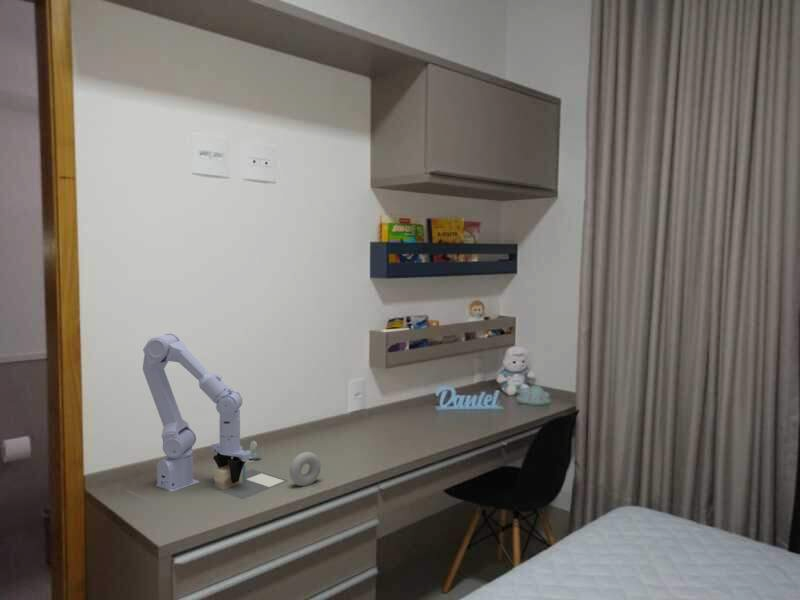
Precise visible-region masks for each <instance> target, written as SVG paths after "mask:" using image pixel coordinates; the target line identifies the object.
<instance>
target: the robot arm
mask: <svg viewBox="0 0 800 600" xmlns="http://www.w3.org/2000/svg"><path fill="white" fill-rule="evenodd" d="M142 351H143V354H144V355H143V363H142V372H143V374H144V377H145V380H146V382H147V385H148V389H149V390H150V394H151V396H152V399H153V402H154V405H155V406H156V409H157V412H158V415H159V417H160V421H161V424H162V427H163V429H162V432H161V439H162V451H163V453H164V454H165V455H166V456H165V457H164V458H162V459H161V460H159V461H158V462H157V466H156V470H157V471H156V475H157V476H156V479H157V483H156V485H155V486H156V487H159V488H161V489H163V490H166V491H169V492H174V491H178V490H180V489H183V488H186V487H188V486H192V485H195V484H197V483H200V480H197V479H194V449H193V446H194V445H195V443H196V441H197V436H196V433H195V431H194V430H193V429H192V428H191V427H190V425H189V423H188V421H186V420H184V418H182V415H181V412H180V409H179V407H178V403H177V401H176V398H175V395H174V393H173V389H172V388H171V387H172V386H171V385H170V382H169V378H168V376H167V373H166V371H165V368H166V366H167V364H168V363H169V362H174V363H179V364H180V365H181V366H182V367H183V368H184V369H186V371H187V372H189V374H191V375H192V376H193V377H194V378H195V379H197V380H198V386H199V389H200V390H201V391H202V392H203V393H204V394H206V396H207V397H208V398H209V399H210V400H211V401H212V402H213V403H214V404H216V405H215V409H216V411H217V413H218V414H219V443H215V444H211V452H212V453H216V455H213V457H212V459H213V461H214V462H215V464H216V465H217V468H220V467H223V466H226V465H229V468H230V473H231V481H232V483H235V482H238V481H239V478H240V474H241V471H242V468H243V466H244V464H245V463H246V462H247V460H248V461H250V459H249V453H247V452H245V451H246V450H244V449H243V446H242V445H241V416H240V415H241V414H240V413H241V406H243V397H242V396H241V394H240V392H238V391H236V390H233V388H232V387H229V386H228V385H227V384H226V383H225V382H224V381H223V380H222V376H221V375H219V374H218V375H217V374H216V373H214V372H213V373H212V372H208V371H207V370H206V368H205V367H204V366H203V365H202V363H200V362H199V360H198V359H197V358H196V357H195V356H194V355H193V353H191V351H190V350H189V349H188V347H187V346H186V344H185V342H184V341H182V340H180V338H179V337H178V336H177V335H176V334H174V333H166V334H164V335H160V336H157V337H156V336H154V337H152V338H150V339H149V340H148V341H147V343H145V346H144V347H143V348H142ZM245 465H246V464H245Z"/></svg>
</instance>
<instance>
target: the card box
mask: <svg viewBox="0 0 800 600" xmlns="http://www.w3.org/2000/svg"><path fill="white" fill-rule="evenodd" d="M246 467H247V466H246V464H244V466H243V468H242V471H241V474H240V478H239V481H238V482H235V483H232V481H231V473H230V468H229V465H226V466H223V467H220V468H218V467H217V468H214V470H213V471H214V472H213V474H214V475H213V478H214V479H213V480H214V481H213V483H214V487H217V488H220V489H223V490H224V489H227V488H229V487H232V486H235V485H237V484H240V483H243V482H245V481H246V471H247V470H246V469H247V468H246Z"/></svg>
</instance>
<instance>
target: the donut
mask: <svg viewBox="0 0 800 600" xmlns="http://www.w3.org/2000/svg"><path fill="white" fill-rule="evenodd" d="M307 464H308V466H309V467H308V471H307V472H306V473H305V474H303V473H302V469H303V467H304V466H305V465H307ZM321 469H322V467H321V461H320V459H319V457H318V455H316V454H315V453H314V452H310V451H303V452H301V453H298V455H296V456H295V457H294V458H293V460H292V461H291V464H290V466H289V477H290V480H291V481H292V483H294V484H295V485H296V486H298V487H299V486H300V487H305V486H309V485H312V484H313V483H314V482H316V480H317V479H318V477H319V476H320V473H321Z"/></svg>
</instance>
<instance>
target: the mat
mask: <svg viewBox="0 0 800 600" xmlns="http://www.w3.org/2000/svg"><path fill="white" fill-rule="evenodd" d="M288 481H289V479H284V478H281V477H279V476H275V475H272V474H269V473H266V472H264V471H263V472H262V471H259V470H256V469H254V468H251V469H248V470H246V481H245V482H243V483H240V484H237V485H235V486H232V487H229V488H227V489H224V490H223V489H220V488H217V487H214V482H211V483H209V484H207V485H205V486H206V487H209V488H211V489H214V490H216V491H220V492H221V493H222V492H223V493H225V494H227V495H230V496H233V497H236V498H239V499H241V500H245V499H248V498H249V497H252V496H255V495H257V494H259V493H261V492H264V491H267V490H269V489H271V488H274V487H276V486H278V485H280V484H283V483H286V482H288Z"/></svg>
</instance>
